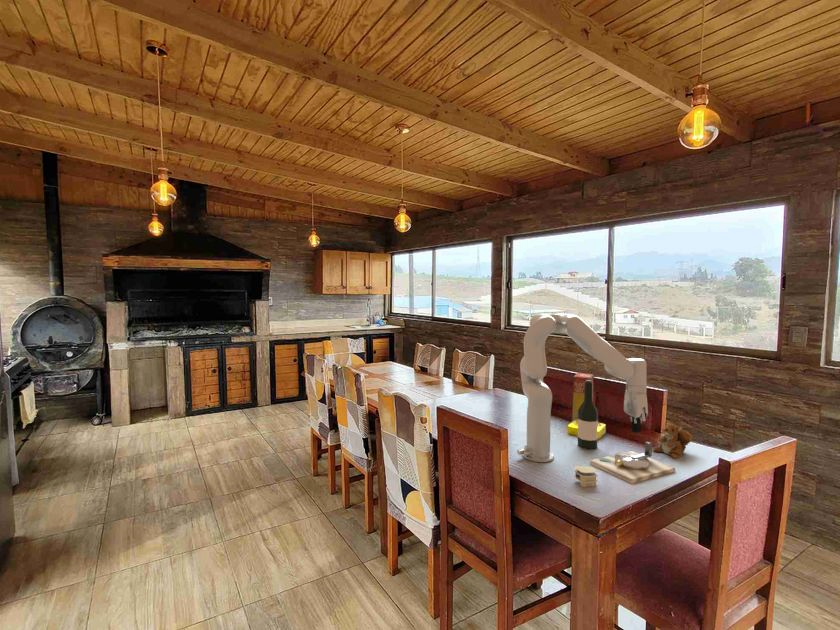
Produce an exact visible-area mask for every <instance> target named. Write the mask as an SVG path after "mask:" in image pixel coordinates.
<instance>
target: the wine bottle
mask: <svg viewBox="0 0 840 630" xmlns="http://www.w3.org/2000/svg"><path fill="white" fill-rule="evenodd" d="M592 389H593V390H594V381H593V382H592V381H591V380H586V382H585V383H584V402H583V403H582V405H581V406H580V408H579V409H578V436H577V447H579V448H581V449H583V450H588V451H595V450H597V449H598V440H597V438H598V423H599V410H598V408H597V406H596V405H595V403H594V400H593V401H592Z"/></svg>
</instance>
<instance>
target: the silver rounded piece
mask: <svg viewBox="0 0 840 630" xmlns="http://www.w3.org/2000/svg"><path fill="white" fill-rule="evenodd" d="M627 452H628V451H626V452H624V451H623V452H617V453H615V454H614V455H615V462H616V465H617V466H622V467H625V468H629V469H636V470H643V469H647V468H649V460H648V459H647V458H651V457H652V456H653V443H652V442H651V441H645V442H644V452H642V453H638V454H634V453H627Z"/></svg>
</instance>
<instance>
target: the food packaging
mask: <svg viewBox="0 0 840 630" xmlns="http://www.w3.org/2000/svg"><path fill="white" fill-rule="evenodd" d="M594 375H595V374H594V373H585V372H577V373H576V374H574V376H573V377H572V399H571V400H572V406H571V407H572V408H571V422H573V421H574V420H576V419H578V409H579V408H580V406H581V405H582V403H583V402H584V383H585V382H586V380H591V381H592V382H593V383H594ZM592 401H593V402H594V388H593V389H592Z"/></svg>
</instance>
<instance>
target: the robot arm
mask: <svg viewBox="0 0 840 630" xmlns="http://www.w3.org/2000/svg"><path fill="white" fill-rule="evenodd" d="M551 334H566V335H567V336H568V337H569V338H570V339H572V341H574V342H575V343H576V344H577V345H578V346H579V347H580V348H581V349H582V350H583V351H584V352H585V353H586V354H588V355H590V356H591V357H593V358H595V359H596V360H598V361H599V362H601V363H603V364H604V365H603V367H604V370H605V372H606V373H608V374H609V375H610V376H613V377H615V378H618V379H620V380H624V381H625V392H624V397H623V411H624V413H625V414H627V415H628V416H629V418H630V423H631V429H630V430H631V432H633V433H634V434H635V433H641V432H642V424H643V423H642V422H646V421H647V420H646V418H647V417H648V415H649V411H648V410H649V407H648V406H649V405H648V396H647V361H646V360H645V359H643V358H639V357H638V358H635V357H631V358H627V357H625V356H624V354H622V353H621V352H620V351H619V350H617V349H616V348H615V347H614V346H612V345H611V344H610V343H608V341H606V340H605V339H604V338H603V337H601V336H600V335H599V334H598V333H597V332H596V331H595V330H594V329H593V328H592V327H591V326H590V325H589V324H588V323H586V322H585V321H584V320H583V319H582V318H581V317H580V316H578V315H576V314H571V313H536V314H534V315H533V316H532V317H531V318H530V320H529V326H528V328H527V330H526V332H525V333H524V337H523V354H524V355H523V356H522V358H521V360H520V363H519V370H520V371H519V372H520V381H521V389H522V391H523V395H525V397H526V398H527V407H526V445H524V448H522V449H521V448H520V449H517V451H516V453H517V455H518V456H520V455H522V456H523V458H525V459H526V460H528V461H530V462H535V463H548V462H551V461H553V460H555V456H554V453H553V452H551V415H552V413H551V412H552V411H551V410H552V404H553V392H552V390H551V388H550V387H549V386H548V385H547V384H546V383H545V382H544V377H546V375H547V372H548V364H547V357H546V348H545V347H546V340H547V338H548V337H549V336H550V335H551Z"/></svg>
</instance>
